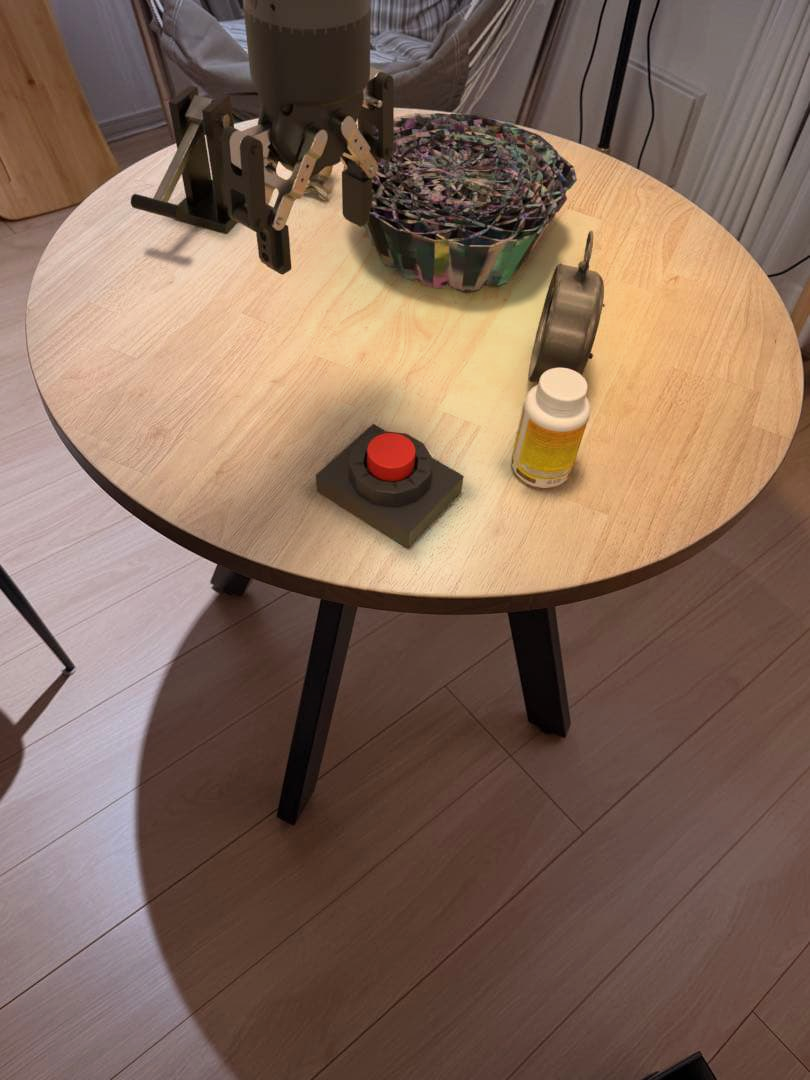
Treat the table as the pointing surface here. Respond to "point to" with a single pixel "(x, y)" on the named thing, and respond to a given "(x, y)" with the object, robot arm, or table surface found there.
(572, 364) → the alarm clock
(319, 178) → the vase
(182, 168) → the lever
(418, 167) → the decorative bowl
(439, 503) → the control block
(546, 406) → the supplement bottle
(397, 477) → the button
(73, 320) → the table surface
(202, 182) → the bracket
